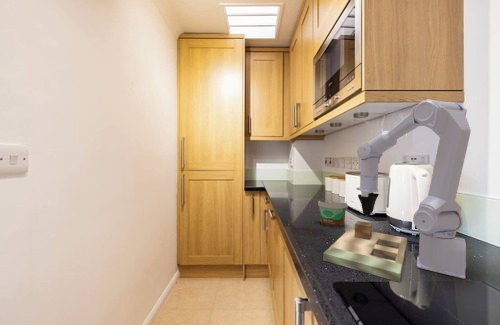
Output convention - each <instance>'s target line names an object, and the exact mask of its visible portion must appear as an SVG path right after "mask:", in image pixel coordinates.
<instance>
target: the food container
mask: <svg viewBox="0 0 500 325" xmlns="http://www.w3.org/2000/svg"><path fill="white" fill-rule="evenodd" d="M317 202H318V203H317V205H318V207H319V218H320V223H321V225H323V226H325V225H326V227H331V228H340V227H343V226H344V225H345V218H346V217H345V216H346V209H347V208H349V207H348V203H347V202H343V203H342V202H341V203H339V202H335V201H321V199H319V200H318V201H317Z"/></svg>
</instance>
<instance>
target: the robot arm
mask: <svg viewBox="0 0 500 325" xmlns="http://www.w3.org/2000/svg"><path fill="white" fill-rule="evenodd" d="M467 112H468V110H467V108H466V107H464V106H463V105H461V103H459V102H456V101H443V100H434V99H431V98H430V99H429V98H428V99H423V100H421V101H420V102H418V104H417V105H415V106H414V107H412V108H411V110H410V112H409V114H408V115H406V116H405V117H404V118H403V119H401V120H400V121H399V122H398V123H397V124H396V125H395V126H394V127H393V128H391V129H390V130H380V131H379V133H378V134H377V135H376V136H375V137H374V138H372V139H370V140H369V141H368V142H362V143H360V144H359V146H358V147H357V149H356V154H357V156H358V158H359V159H360V174H359V175H360V176H359V187H356V188H355V189H356V190H357V191H360V192H361V194H360V193H359V194H357V198H358V200H359V202H360V205H361V209H362V214H363V215H364V216H371V214H373V212H374V208H375V204H376V201H377V199H378V197H379V195H380V194H379V193H377V192H379V188H378V186H379V182H378V181H379V179H378V178H379V164H380V162H381V158H382V156H383V155H384V153H385V152H386V151H388V150H389V149H391V148H392V147H394V146H395V145H397V142H398V139H400V138H402V137H403V136H405V135H407V134H408V133H409V132H412V131H414V130H415V129H416V128H418V127H426V128H428V129H430V130H432V131H433V132H434V133H435V134H436V135H437V136H438V137H439V142H438V146H437V151H436V155H435V160H434V165H433V168H432V174H431V180H430V184H429V188H428V189H429V190H428V195H427V196H426V197H425V198H424V199H423V200H422V201H421V202H420V203H418V204H419V205H418V209H417V210H416V211H415V212H414V214H413V216H412V217H413V218H412V219H413V224H414V226H415V227H416V229H417V232H418V233H419V246H418V248H419V250H418V255H417V258H416V267H417V268H418V269H421V270H427V271H431V272H434V273H438V274H441V275H442V274H443V275H447V276H451V277H455V278H459V279H464V280H465V279H466V269H467V243H466V239H465V238H463V237H458V236H456V235H457V231H459V230H460V229H461V228H462V227H463V219H462V218H463V217H462V214H461V211H462V206H461V205H460V204H458V202H456V199H457V192H458V190H459V185H460V180H461V175H462V172H463V167H464V164H465V160H466V154H467V151H468V150H467V149H468V146H469V141H470V137H471V131H472V130H471V127H470V124H469V122H468V119H467Z"/></svg>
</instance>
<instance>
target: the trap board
mask: <svg viewBox="0 0 500 325" xmlns="http://www.w3.org/2000/svg"><path fill="white" fill-rule="evenodd" d="M407 247H408V237H403V236H398V235H397V236H396V235H392V234H387V233H382V232H376V231H372V237H371V238H370V240H366V239H362V238H357V237H355V227H349V229H347V230H346V231H345V232H344V233H343V234H342V235H341V236H340V237H339V238H338V239H337V240H336V241H335V242H334V243H332V244H331V246H330V247H329V248H327V249H326V250H325V251H324V252H323V254H322V255H323V256H322V257H323V258H322V259H323V260H322V261H324V262H328V263H331V264H334V265H337V266H342V267H344V268H349V269H351V270H356V271H359V272H362V273H365V274H369V275H373V276H376V277H380V278H383V279H386V280H387V279H388V280H390V281H394V282H398V283H400V281H401V278H402V277H401V276H402V272H403V268H404V267H403V266H404V261H405V257H406V251H407Z"/></svg>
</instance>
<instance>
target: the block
mask: <svg viewBox="0 0 500 325" xmlns="http://www.w3.org/2000/svg"><path fill="white" fill-rule="evenodd" d="M354 228H355V237H357V238H362V239H366V240H370V238H371V237H372V232H373V223H371V222H365V221H359V220H357V221H356V222H355V223H354Z"/></svg>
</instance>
